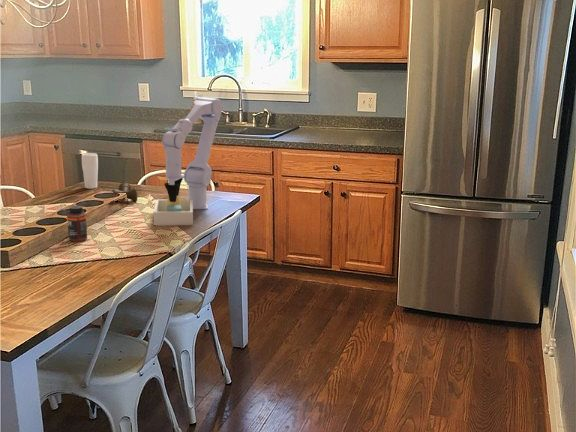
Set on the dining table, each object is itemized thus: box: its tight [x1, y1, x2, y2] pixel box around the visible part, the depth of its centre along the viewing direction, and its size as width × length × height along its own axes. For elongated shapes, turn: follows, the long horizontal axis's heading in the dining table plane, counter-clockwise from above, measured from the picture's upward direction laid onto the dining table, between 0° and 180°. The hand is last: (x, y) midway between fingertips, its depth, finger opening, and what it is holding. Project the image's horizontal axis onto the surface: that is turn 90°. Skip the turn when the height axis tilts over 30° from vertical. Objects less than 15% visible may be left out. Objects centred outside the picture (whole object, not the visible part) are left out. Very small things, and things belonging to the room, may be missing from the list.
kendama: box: [112, 182, 138, 202], centre depth 259 cm, size 6×10×20 cm
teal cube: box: [167, 205, 182, 212], centre depth 231 cm, size 5×5×5 cm
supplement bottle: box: [66, 205, 88, 243], centre depth 206 cm, size 6×6×11 cm
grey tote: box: [153, 199, 194, 227], centre depth 235 cm, size 18×14×5 cm
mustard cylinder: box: [166, 195, 182, 205], centre depth 238 cm, size 5×5×7 cm
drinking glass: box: [81, 152, 99, 190], centre depth 273 cm, size 7×7×15 cm
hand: (174, 198), depth 237 cm, fingers open, 7 cm apart
